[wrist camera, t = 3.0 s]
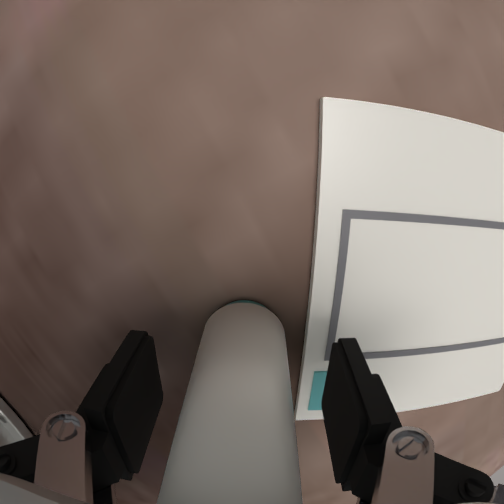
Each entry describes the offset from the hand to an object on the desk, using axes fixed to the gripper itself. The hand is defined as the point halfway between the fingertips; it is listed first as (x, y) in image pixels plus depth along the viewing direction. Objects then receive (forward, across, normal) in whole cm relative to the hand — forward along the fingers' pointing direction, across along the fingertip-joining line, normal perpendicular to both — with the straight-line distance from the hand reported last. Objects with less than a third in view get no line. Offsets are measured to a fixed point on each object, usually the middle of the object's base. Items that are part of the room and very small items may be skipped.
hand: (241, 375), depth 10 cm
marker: (+3, 0, 0) cm, 3 cm away
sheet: (+3, -9, -2) cm, 10 cm away
